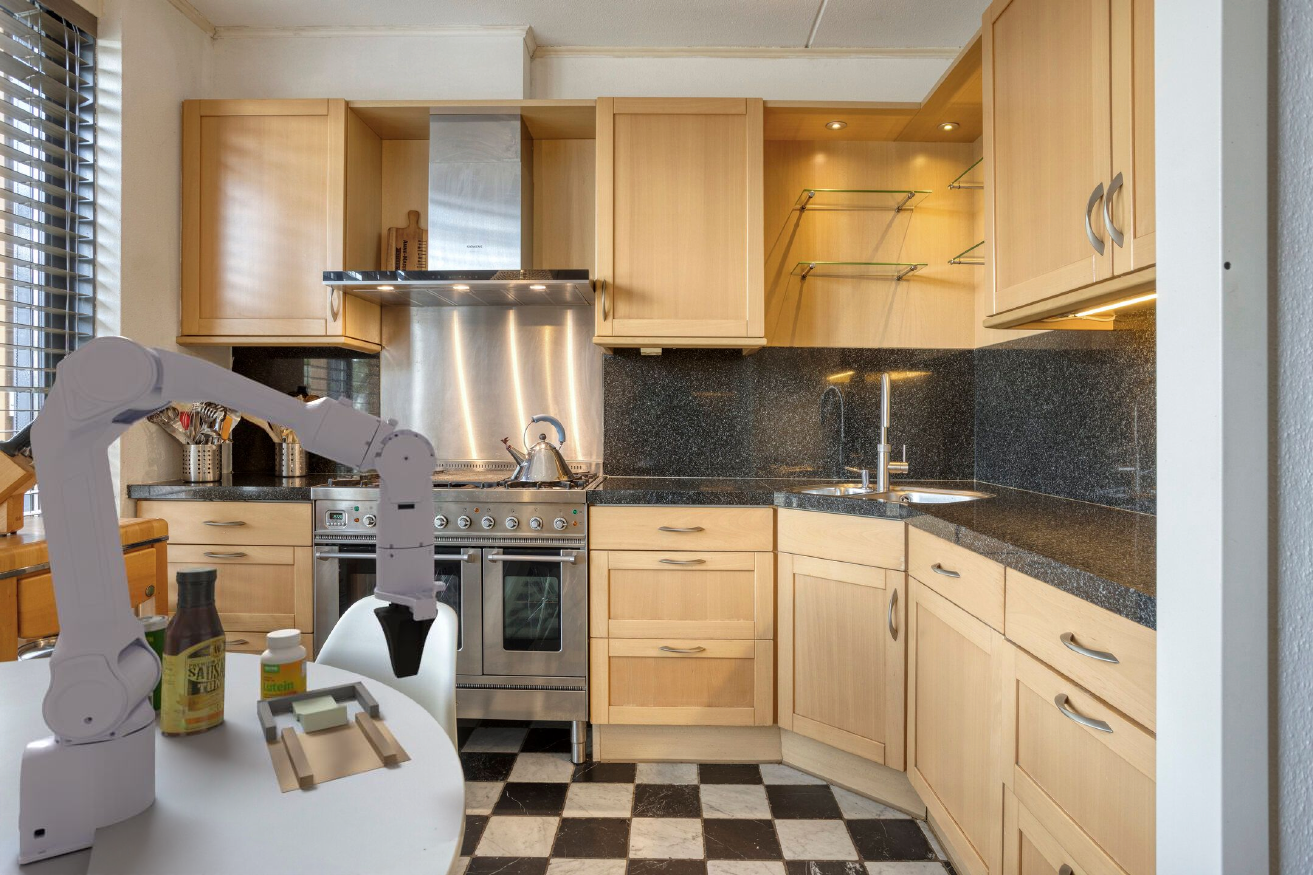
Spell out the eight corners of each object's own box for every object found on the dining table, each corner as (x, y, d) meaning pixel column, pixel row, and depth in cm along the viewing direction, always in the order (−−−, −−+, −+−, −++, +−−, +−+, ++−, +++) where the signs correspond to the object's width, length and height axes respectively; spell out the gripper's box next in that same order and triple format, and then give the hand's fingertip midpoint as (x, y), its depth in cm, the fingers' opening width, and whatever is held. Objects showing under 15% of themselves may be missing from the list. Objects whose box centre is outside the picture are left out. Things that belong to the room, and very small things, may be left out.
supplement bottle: (255, 716, 89) (255, 639, 89) (266, 701, 94) (266, 629, 94) (301, 711, 90) (301, 636, 90) (310, 697, 95) (310, 626, 95)
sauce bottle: (192, 752, 78) (192, 575, 79) (146, 747, 80) (146, 573, 80) (238, 728, 85) (238, 565, 85) (195, 725, 86) (194, 564, 86)
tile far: (296, 730, 84) (296, 713, 84) (291, 718, 87) (291, 702, 87) (337, 721, 86) (337, 705, 86) (330, 710, 90) (330, 694, 90)
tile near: (305, 732, 80) (304, 714, 80) (299, 730, 83) (299, 713, 84) (347, 723, 82) (346, 705, 83) (340, 721, 86) (339, 704, 86)
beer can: (172, 713, 90) (172, 620, 90) (119, 724, 86) (119, 627, 86) (168, 701, 94) (168, 612, 94) (117, 712, 90) (117, 619, 91)
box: (266, 754, 78) (266, 727, 78) (257, 724, 86) (257, 700, 86) (378, 728, 85) (378, 704, 85) (360, 703, 93) (360, 681, 93)
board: (282, 808, 66) (282, 781, 66) (266, 754, 78) (265, 732, 78) (411, 773, 73) (411, 749, 73) (378, 728, 85) (378, 708, 85)
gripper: (466, 549, 69) (467, 686, 69) (423, 534, 81) (424, 651, 81) (393, 556, 65) (393, 702, 65) (359, 539, 77) (359, 662, 77)
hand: (406, 675), depth 73 cm, fingers closed
